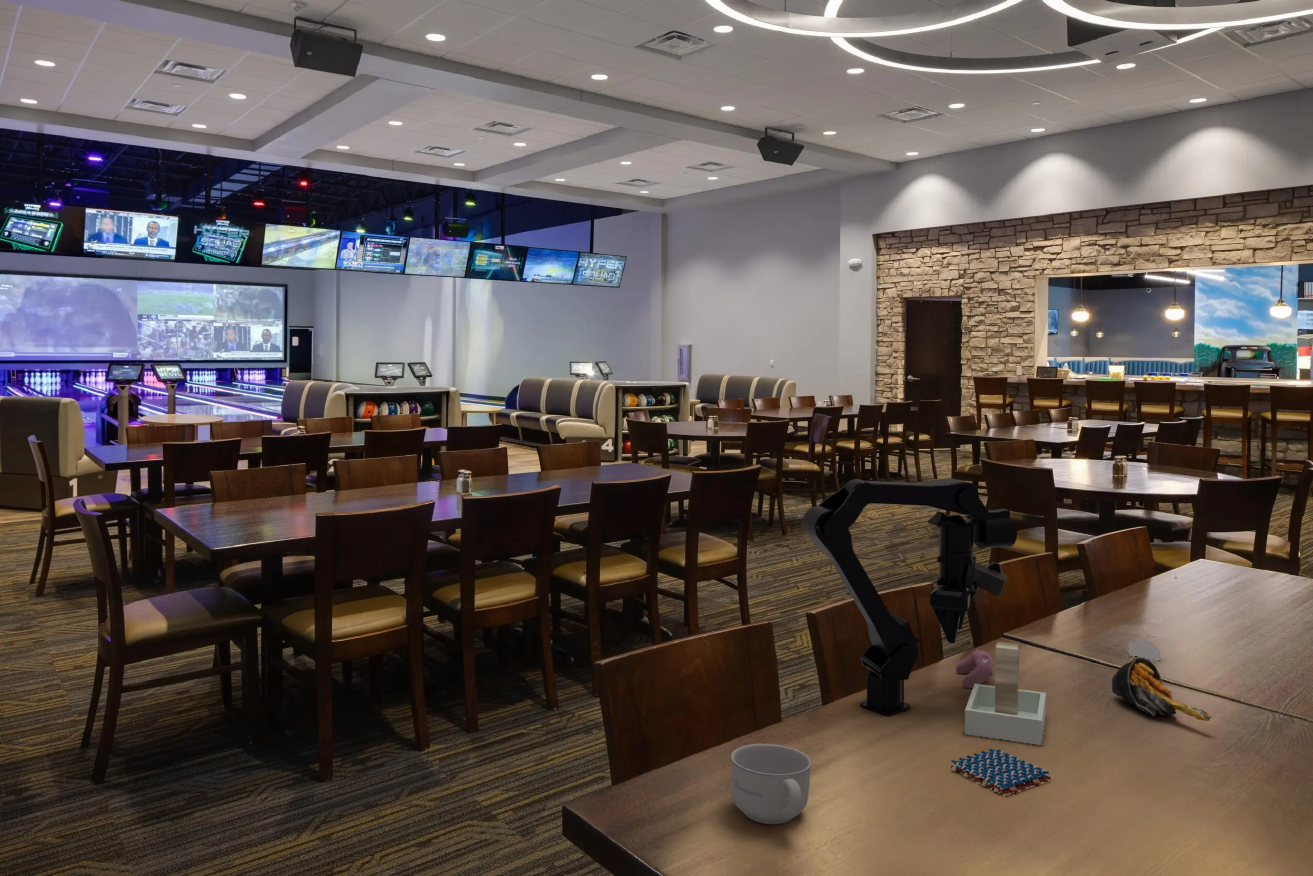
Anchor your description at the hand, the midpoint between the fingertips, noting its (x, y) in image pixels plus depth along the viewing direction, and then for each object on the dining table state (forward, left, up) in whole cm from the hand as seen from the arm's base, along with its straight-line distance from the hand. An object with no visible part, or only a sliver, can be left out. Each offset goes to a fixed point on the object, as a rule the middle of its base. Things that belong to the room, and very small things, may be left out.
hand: (955, 635), depth 164 cm
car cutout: (+50, -7, -13) cm, 52 cm away
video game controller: (+12, +4, -12) cm, 18 cm away
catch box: (-3, -12, -12) cm, 17 cm away
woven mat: (-21, -22, -13) cm, 33 cm away
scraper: (-3, -12, -11) cm, 17 cm away
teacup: (-56, -10, -12) cm, 58 cm away
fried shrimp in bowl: (+21, -26, -12) cm, 36 cm away
